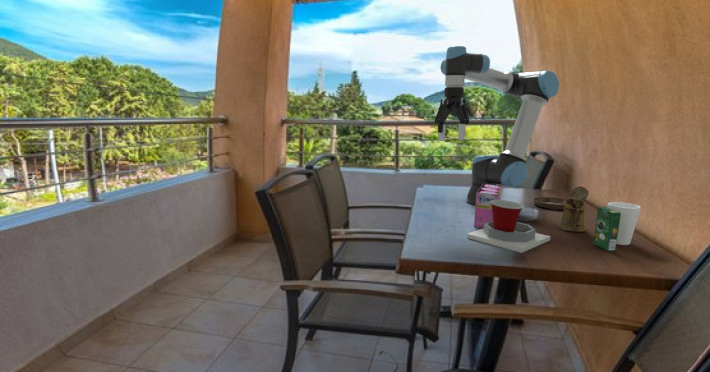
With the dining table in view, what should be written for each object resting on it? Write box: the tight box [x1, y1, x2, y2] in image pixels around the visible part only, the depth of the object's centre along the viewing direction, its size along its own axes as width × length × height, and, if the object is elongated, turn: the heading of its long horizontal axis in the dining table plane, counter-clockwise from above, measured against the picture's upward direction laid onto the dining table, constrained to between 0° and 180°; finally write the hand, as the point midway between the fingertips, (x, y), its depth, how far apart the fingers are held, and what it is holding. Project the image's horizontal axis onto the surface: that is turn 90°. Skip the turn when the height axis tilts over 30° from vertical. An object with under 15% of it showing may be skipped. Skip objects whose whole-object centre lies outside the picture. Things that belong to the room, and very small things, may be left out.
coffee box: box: [593, 206, 621, 253], centre depth 134 cm, size 8×3×13 cm, turn 2°
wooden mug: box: [558, 186, 590, 233], centre depth 153 cm, size 9×14×18 cm, turn 160°
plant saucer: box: [532, 196, 567, 210], centre depth 195 cm, size 18×18×3 cm
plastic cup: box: [490, 199, 525, 232], centre depth 140 cm, size 11×11×12 cm
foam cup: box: [606, 201, 642, 246], centre depth 141 cm, size 10×9×13 cm
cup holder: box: [466, 221, 551, 253], centre depth 143 cm, size 20×20×4 cm
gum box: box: [473, 183, 503, 229], centre depth 167 cm, size 24×8×14 cm, turn 156°
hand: (451, 140), depth 169 cm, fingers open, 13 cm apart
